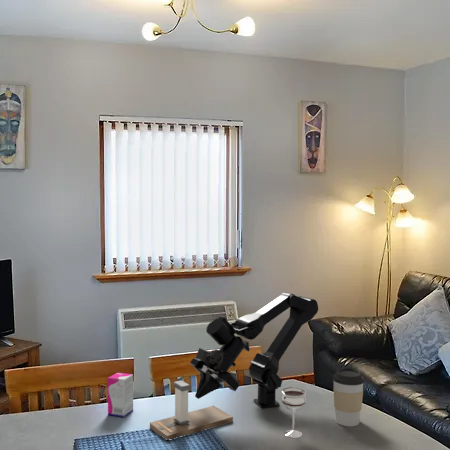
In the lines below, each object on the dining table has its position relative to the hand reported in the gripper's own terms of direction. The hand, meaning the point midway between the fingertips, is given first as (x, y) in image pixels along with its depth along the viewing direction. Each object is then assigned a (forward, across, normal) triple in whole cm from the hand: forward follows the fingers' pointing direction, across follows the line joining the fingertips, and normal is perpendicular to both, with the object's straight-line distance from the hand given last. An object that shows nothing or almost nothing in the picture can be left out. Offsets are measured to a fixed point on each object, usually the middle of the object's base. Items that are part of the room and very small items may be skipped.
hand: (196, 397), depth 156 cm
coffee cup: (-21, +24, +32) cm, 45 cm away
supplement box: (+16, -19, -5) cm, 26 cm away
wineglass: (-8, +21, +19) cm, 29 cm away
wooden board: (+6, 0, +4) cm, 8 cm away
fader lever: (+8, 0, +1) cm, 8 cm away
